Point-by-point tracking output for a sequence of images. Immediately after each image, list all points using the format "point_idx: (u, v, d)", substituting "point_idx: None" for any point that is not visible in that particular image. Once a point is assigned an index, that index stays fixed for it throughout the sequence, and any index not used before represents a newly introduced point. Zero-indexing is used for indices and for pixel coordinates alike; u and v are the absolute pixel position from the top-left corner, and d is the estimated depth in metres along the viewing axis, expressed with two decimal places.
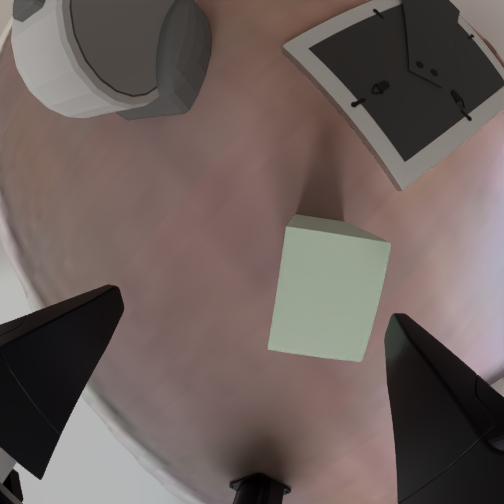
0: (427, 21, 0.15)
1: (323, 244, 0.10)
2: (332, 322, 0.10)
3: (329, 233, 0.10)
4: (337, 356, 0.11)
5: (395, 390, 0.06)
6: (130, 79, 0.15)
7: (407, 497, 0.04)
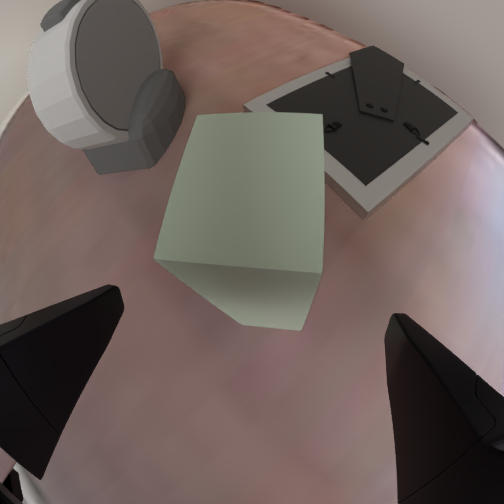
0: (374, 74, 0.24)
1: (237, 121, 0.08)
2: (255, 203, 0.07)
3: (245, 113, 0.08)
4: (272, 263, 0.06)
5: (395, 390, 0.06)
6: (106, 107, 0.18)
7: (408, 497, 0.04)
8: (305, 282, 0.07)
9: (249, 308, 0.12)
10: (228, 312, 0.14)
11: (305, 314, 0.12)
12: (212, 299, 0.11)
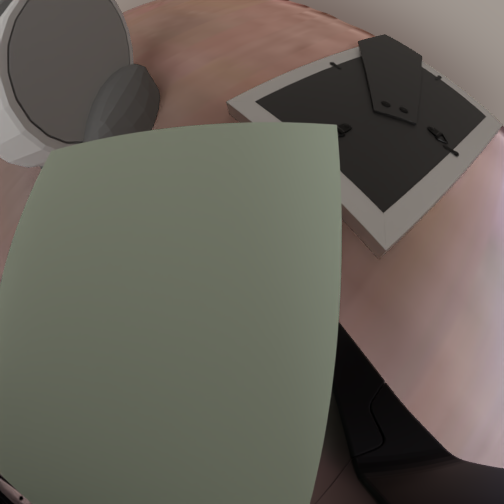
0: (389, 66, 0.19)
1: (104, 163, 0.03)
2: (111, 454, 0.02)
3: (128, 136, 0.03)
4: None
5: None
6: (50, 117, 0.13)
7: None
8: None
9: None
10: None
11: None
12: None
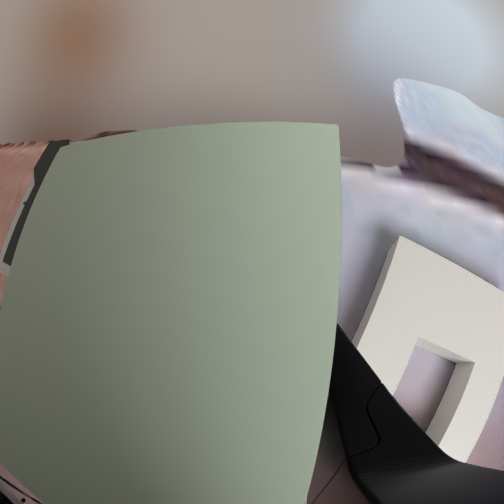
0: None
1: (114, 159, 0.03)
2: (114, 441, 0.02)
3: (137, 133, 0.03)
4: None
5: None
6: None
7: None
8: None
9: None
10: None
11: None
12: None
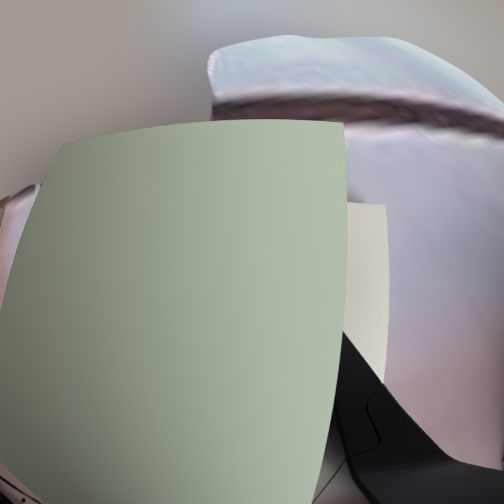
0: None
1: (117, 156, 0.03)
2: (119, 440, 0.02)
3: (141, 130, 0.03)
4: None
5: None
6: None
7: None
8: None
9: None
10: None
11: None
12: None
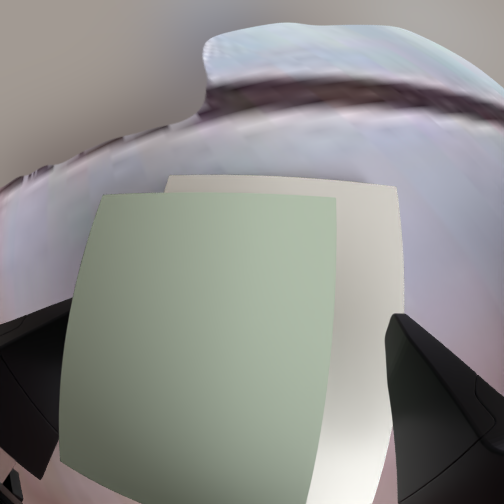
0: None
1: (162, 217, 0.04)
2: (187, 427, 0.03)
3: (178, 194, 0.04)
4: None
5: (395, 390, 0.06)
6: None
7: (407, 497, 0.04)
8: None
9: None
10: None
11: None
12: None
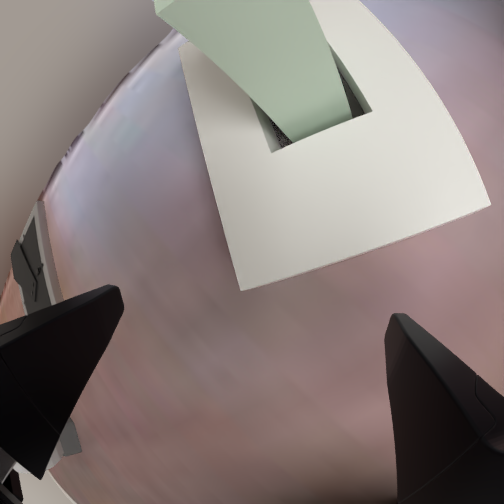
0: (21, 272, 0.35)
1: None
2: None
3: None
4: None
5: (395, 390, 0.06)
6: None
7: (407, 497, 0.04)
8: None
9: (279, 75, 0.10)
10: (269, 110, 0.12)
11: (331, 58, 0.09)
12: (239, 76, 0.09)
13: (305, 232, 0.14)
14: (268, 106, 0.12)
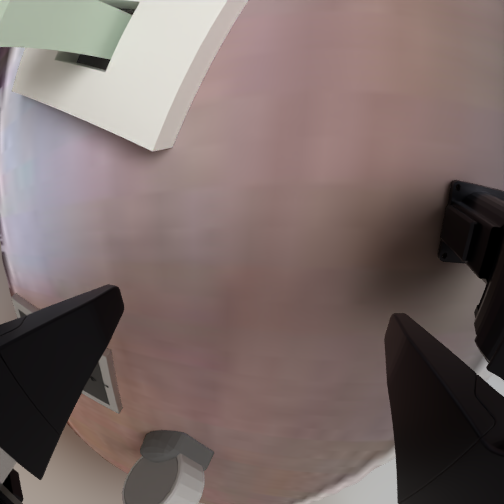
0: None
1: None
2: None
3: None
4: None
5: (395, 390, 0.06)
6: (171, 475, 0.31)
7: (407, 497, 0.04)
8: None
9: (70, 28, 0.10)
10: (82, 50, 0.12)
11: None
12: (50, 44, 0.10)
13: (155, 82, 0.15)
14: (80, 49, 0.12)
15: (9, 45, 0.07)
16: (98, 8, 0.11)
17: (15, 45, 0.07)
